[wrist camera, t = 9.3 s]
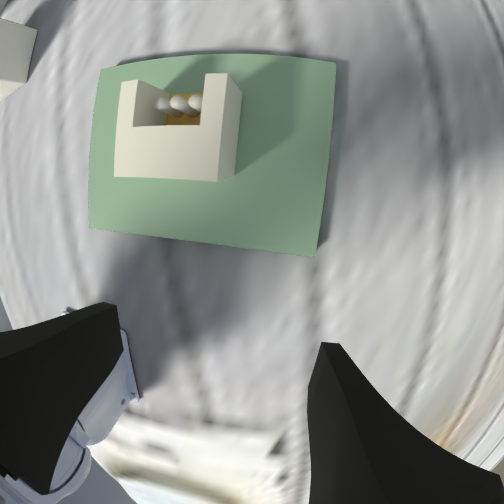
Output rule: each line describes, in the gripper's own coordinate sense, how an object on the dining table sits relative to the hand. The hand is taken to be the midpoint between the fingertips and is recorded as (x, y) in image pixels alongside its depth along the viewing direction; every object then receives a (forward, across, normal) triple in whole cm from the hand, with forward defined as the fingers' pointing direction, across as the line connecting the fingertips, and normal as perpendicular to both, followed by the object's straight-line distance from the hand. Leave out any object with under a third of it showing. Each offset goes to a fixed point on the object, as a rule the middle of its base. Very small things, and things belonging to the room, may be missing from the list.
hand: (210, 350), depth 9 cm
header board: (+10, +4, -7) cm, 13 cm away
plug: (+9, +4, -8) cm, 12 cm away
